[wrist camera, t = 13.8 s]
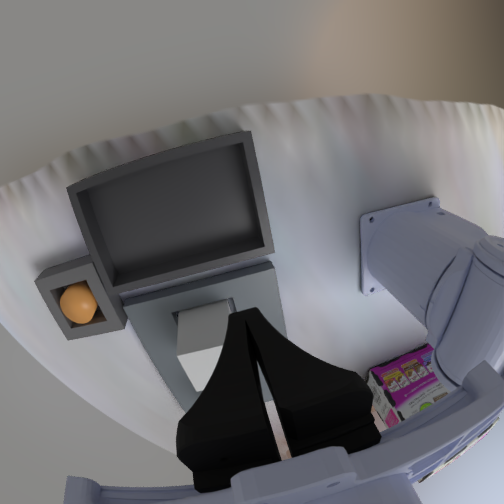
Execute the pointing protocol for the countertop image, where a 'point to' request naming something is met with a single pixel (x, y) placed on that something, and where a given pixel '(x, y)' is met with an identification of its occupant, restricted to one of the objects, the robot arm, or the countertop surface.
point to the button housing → (111, 306)
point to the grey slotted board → (191, 295)
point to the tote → (174, 213)
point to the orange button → (78, 302)
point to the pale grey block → (201, 339)
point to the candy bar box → (410, 392)
